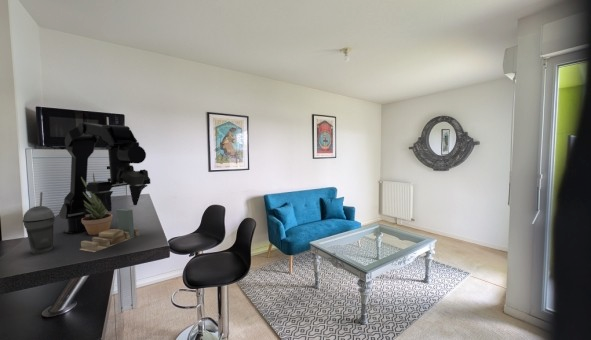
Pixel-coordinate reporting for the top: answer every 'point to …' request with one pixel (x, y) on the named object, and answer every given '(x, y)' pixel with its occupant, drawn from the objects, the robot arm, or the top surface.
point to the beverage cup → (39, 228)
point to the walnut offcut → (117, 239)
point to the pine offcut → (111, 234)
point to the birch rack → (102, 242)
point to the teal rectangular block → (125, 221)
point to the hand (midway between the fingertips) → (123, 208)
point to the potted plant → (96, 215)
